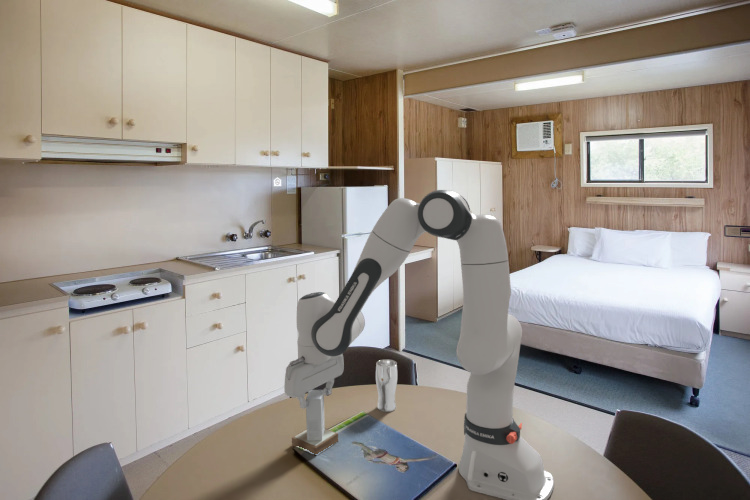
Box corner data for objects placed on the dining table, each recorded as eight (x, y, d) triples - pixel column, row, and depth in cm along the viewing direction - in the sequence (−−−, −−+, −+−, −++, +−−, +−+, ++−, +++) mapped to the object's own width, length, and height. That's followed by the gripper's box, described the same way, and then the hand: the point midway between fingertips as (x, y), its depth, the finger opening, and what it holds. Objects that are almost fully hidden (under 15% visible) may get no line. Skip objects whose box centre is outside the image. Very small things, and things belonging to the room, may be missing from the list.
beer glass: (397, 403, 154) (398, 359, 152) (396, 413, 147) (396, 367, 145) (376, 402, 155) (376, 358, 153) (374, 412, 148) (374, 366, 146)
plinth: (338, 443, 131) (338, 432, 130) (316, 458, 124) (316, 447, 123) (314, 433, 136) (314, 423, 136) (292, 447, 129) (291, 437, 128)
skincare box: (309, 429, 132) (308, 389, 131) (324, 429, 132) (324, 389, 131) (306, 441, 126) (305, 398, 125) (322, 441, 126) (321, 399, 125)
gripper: (295, 366, 116) (297, 418, 118) (346, 343, 133) (348, 390, 135) (277, 361, 120) (280, 412, 122) (330, 340, 137) (331, 385, 138)
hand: (316, 400), depth 128 cm, fingers open, 8 cm apart
